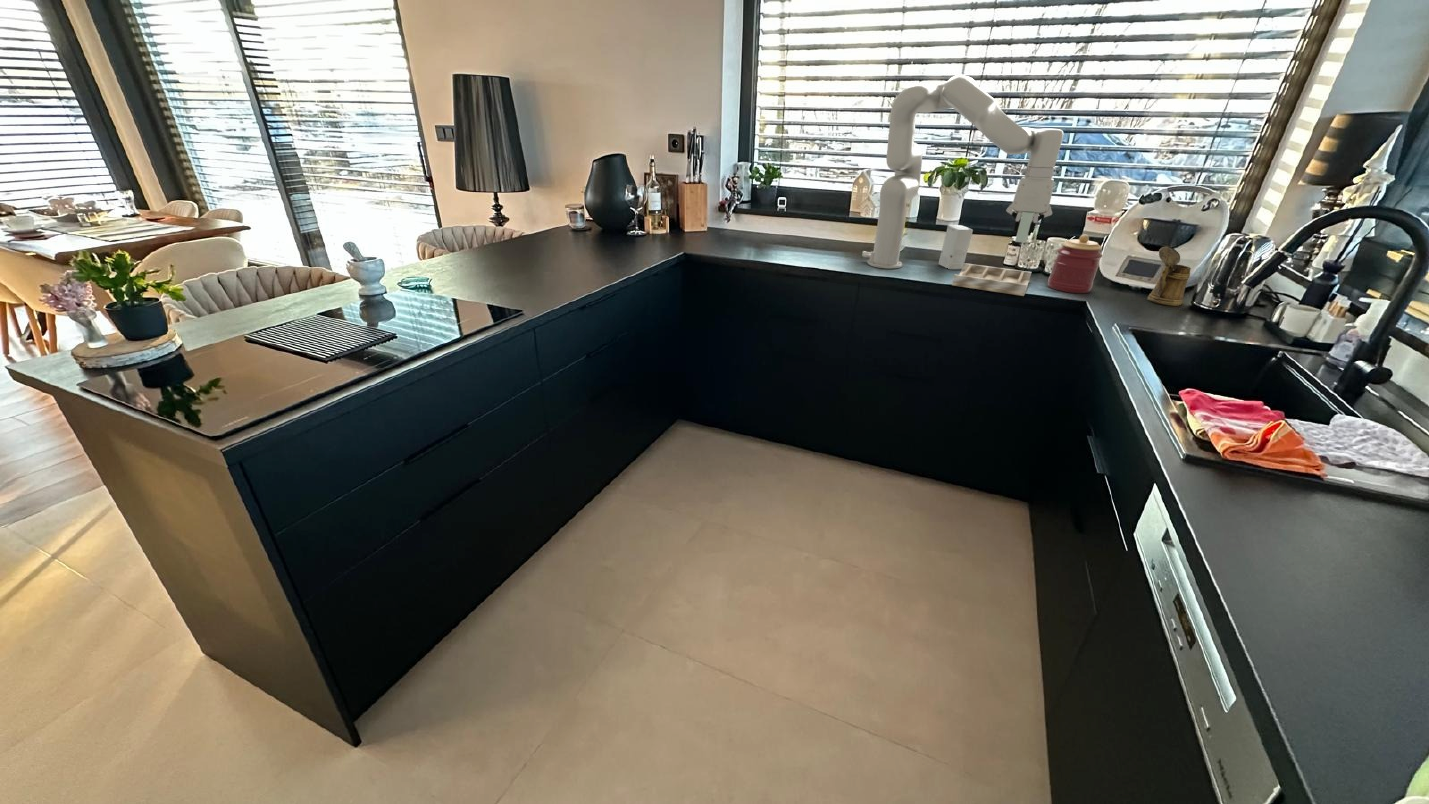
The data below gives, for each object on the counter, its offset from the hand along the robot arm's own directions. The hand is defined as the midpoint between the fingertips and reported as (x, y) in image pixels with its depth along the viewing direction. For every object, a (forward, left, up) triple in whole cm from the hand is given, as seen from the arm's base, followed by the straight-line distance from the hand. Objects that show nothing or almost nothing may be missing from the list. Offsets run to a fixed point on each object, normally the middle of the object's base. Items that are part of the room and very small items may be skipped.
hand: (1023, 233), depth 179 cm
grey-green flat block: (0, 0, -2) cm, 2 cm away
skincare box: (-22, +17, -18) cm, 33 cm away
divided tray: (-6, 0, -17) cm, 18 cm away
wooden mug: (+42, +7, -18) cm, 46 cm away
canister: (+17, +9, -18) cm, 26 cm away
